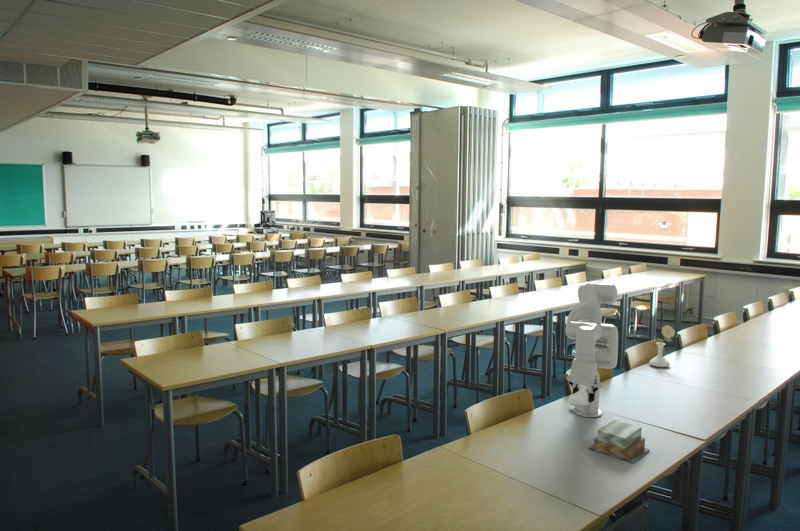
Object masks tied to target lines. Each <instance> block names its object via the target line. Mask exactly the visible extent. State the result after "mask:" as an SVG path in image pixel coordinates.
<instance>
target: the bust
mask: <svg viewBox="0 0 800 531" xmlns="http://www.w3.org/2000/svg"><path fill="white" fill-rule="evenodd" d="M579 386H580V387H581V389H580V390H579V391H578V392H576V393H574V394H573V393H572V395H571V397H570V400H571V404H573V405H572V406H574V405H582V406H586V405H589V404H590V403H589V393H590V390H589V388H590V387H587V386H584V385H582V384H581V385H579Z"/></svg>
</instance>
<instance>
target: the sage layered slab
mask: <svg viewBox="0 0 800 531" xmlns="http://www.w3.org/2000/svg"><path fill="white" fill-rule="evenodd" d="M645 443H646V438H645V437H642V426H638V425H634V424H631V423H630V424H629V423H626V422H623V421H620V420H616V419H613V421H611V422H609V423H608V424H606V425H604V426H603V427H601V428H599V429H598V430H597V436H596V437H594V439H593V444H592V445H590V446H588V450H590V451H593V452H597V453H599V454H602V455H606V456H609V457H613V458H615V459H618V460H622V461H623V462H624V461H625V462H628V463H631V464H635V463H636V462H638V461H639V460H640V459H642V458H643V457H644V456H645V455H647V454H649V453H650V448H647V447H645V445H646V444H645Z"/></svg>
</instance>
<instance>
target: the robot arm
mask: <svg viewBox="0 0 800 531" xmlns="http://www.w3.org/2000/svg"><path fill="white" fill-rule="evenodd" d="M618 295H619V294H618V289H617V286H616V285H615V284H614V283H607V282H587V283H585V284H582V285H580V286H579V287H578V289H577V296H578V302H579V305H578V306H576V307H574V308H573V309H572V310H571V311H570V312H569V314H568V316H567V318H566V324H565V335H566V337H567V338H568V339H570V340H575V351H573V352H572V356H574V357H573V359H572V362H571V366H570V367H571V368H570V374H569V375H568V376H566V377H565V379H566V380H567V382H569V385H570V386H571V388H572V395H573V394H574V393H576V392H578V391H579V390H580V389H581V387H580V386H579V385H581V384H582V385H584V386H587V387H590V388H589V390H590V393H589V403H590V404H589V405H586V406H582V405H573V404H571V399H570V400H569V405H570V406H574V408H573V413H574V414H575V415H578V416H580V417H585V418H599V417H600V416H602V415H603V411H602V410H601V409H600V408H599V407H600V389H601V388H603V387H604V385H603V384H602V382H601V381H600V379H601V376H600V374H599V372H598V368H599V369H607V370H612V369H615V368H616V367H617V363H618V355H619V354H618V351H619V330H618V328H617V326H616V325H614V324H610V323H603V321H602V319H603V313H602V311H601V306H602V304H603V305H604V304H606V305H614V304H615V303H616V302H617V300H618ZM596 345H604V346H596ZM605 345H606V347H605Z"/></svg>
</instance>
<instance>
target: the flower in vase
mask: <svg viewBox="0 0 800 531" xmlns="http://www.w3.org/2000/svg"><path fill="white" fill-rule="evenodd" d="M661 328H662V329H661V334H662V335H663V337H664V339H663V340H662V339H660V338H658V337H656V339H657V340H658V341H660V342H655V343H656V346H657V350H658V351H657V355H656V356H655V357H652V358H651V359H650V360H649V365H651V366H653V367H658V368H667V367H670V365H671V362H670V361H669V360H668V359H667V358H666V357H664V356H663V351H664V350H663V348H664V346H665V345H666V343H664V341H666V342H667V343H669V342H670V343H671V342H673V339H672V338H673V337H675V334H676V331H675V329H674V328H673V327H672V326H671V325H668V324H667V325H664V326H662V327H661Z"/></svg>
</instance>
